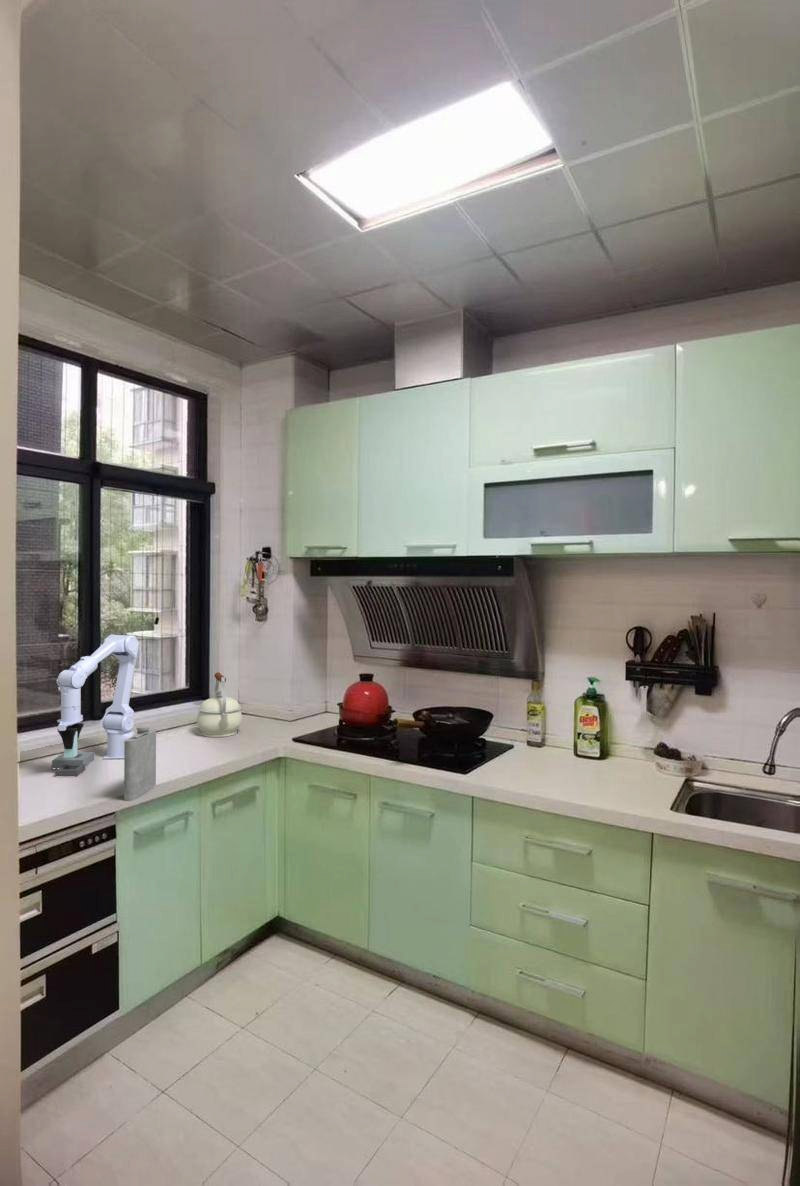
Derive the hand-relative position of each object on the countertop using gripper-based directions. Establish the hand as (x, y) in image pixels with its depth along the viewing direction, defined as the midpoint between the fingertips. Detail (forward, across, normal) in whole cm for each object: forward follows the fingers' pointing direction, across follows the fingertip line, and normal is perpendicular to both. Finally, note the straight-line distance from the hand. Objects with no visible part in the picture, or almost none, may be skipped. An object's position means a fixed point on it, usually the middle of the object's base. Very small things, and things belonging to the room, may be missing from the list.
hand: (70, 747), depth 206 cm
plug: (+3, 0, 0) cm, 3 cm away
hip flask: (+9, +20, +28) cm, 36 cm away
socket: (+9, -10, -3) cm, 14 cm away
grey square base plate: (+9, 0, 0) cm, 9 cm away
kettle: (+9, -51, +40) cm, 65 cm away
